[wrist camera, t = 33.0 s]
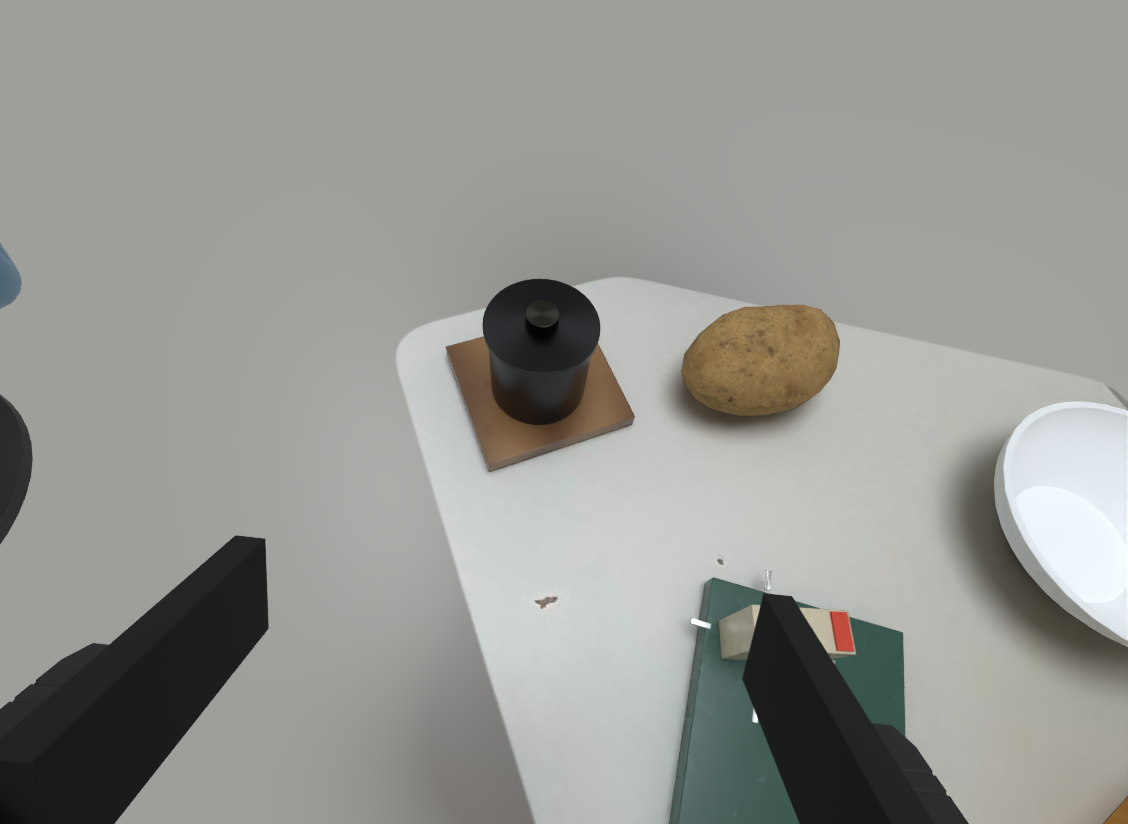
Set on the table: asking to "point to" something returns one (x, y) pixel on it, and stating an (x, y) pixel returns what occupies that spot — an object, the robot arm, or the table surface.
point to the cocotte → (540, 349)
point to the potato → (762, 359)
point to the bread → (1119, 814)
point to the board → (522, 441)
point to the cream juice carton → (824, 622)
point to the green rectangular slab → (732, 730)
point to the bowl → (1071, 508)
